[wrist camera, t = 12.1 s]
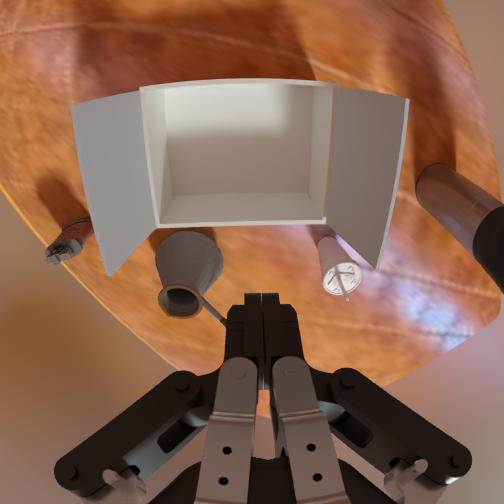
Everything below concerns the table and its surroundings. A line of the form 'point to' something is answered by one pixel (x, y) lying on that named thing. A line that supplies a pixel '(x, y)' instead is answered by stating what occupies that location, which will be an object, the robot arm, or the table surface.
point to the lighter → (70, 241)
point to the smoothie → (337, 268)
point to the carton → (239, 151)
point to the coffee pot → (187, 273)
